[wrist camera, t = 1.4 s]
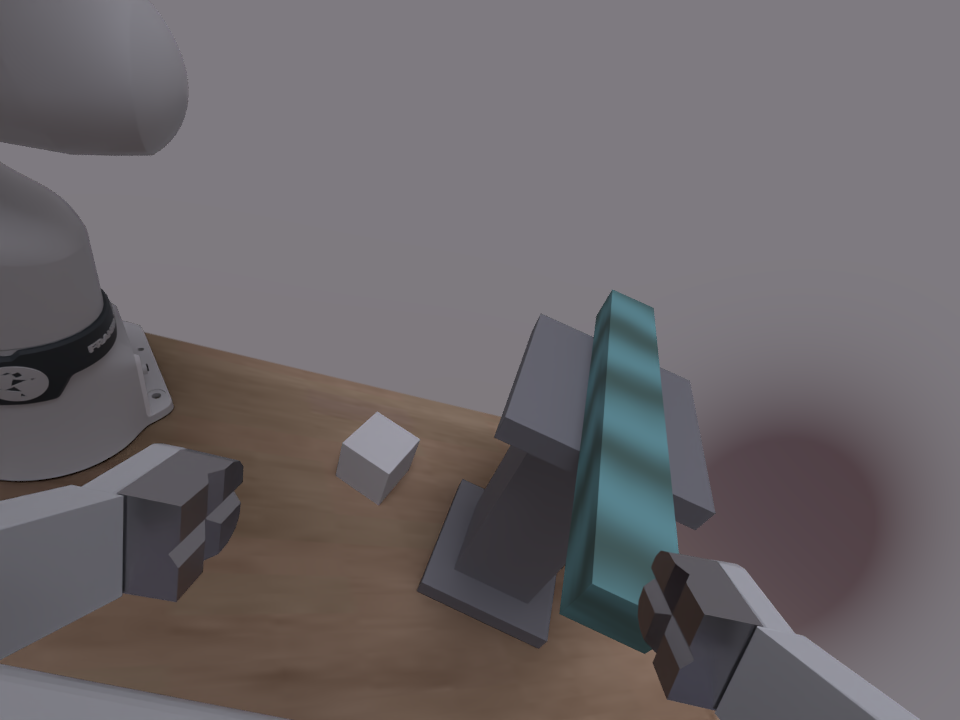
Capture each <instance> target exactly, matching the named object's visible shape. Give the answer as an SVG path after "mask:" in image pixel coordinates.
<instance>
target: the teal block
mask: <svg viewBox="0 0 960 720" xmlns="http://www.w3.org/2000/svg"><path fill="white" fill-rule="evenodd" d="M660 551H666V552H672V553H677V554H679V551H678V542H677V531H676V522H675V512H674V502H673V493H672V483H671V473H670V464H669V454H668V444H667V434H666V425H665V415H664V405H663V396H662V386H661V376H660V367H659V357H658V347H657V337H656V328H655V318H654V309H653V308H652V307H650V306H648V305H646V304H643V303H641V302H639V301H637V300H635V299H632V298H630V297H628V296H626V295H623V294H621V293H619V292H617V291H614V290H612V291H611V293H610V295H609V296H608V298H607V299H606V301H605V303H604V304H603V306H602V308H601V309H600V311H599V313H598V314H597V316H596V324H595V332H594V340H593V348H592V356H591V364H590V372H589V380H588V388H587V396H586V404H585V412H584V420H583V428H582V437H581V445H580V453H579V461H578V469H577V477H576V485H575V493H574V501H573V509H572V517H571V525H570V533H569V541H568V549H567V557H566V565H565V573H564V581H563V589H562V597H561V605H560V614H561V615H563V616H565V617H567V618H569V619H571V620H574V621H576V622H578V623H580V624H582V625H584V626H586V627H589V628H591V629H593V630H595V631H597V632H599V633H601V634H603V635H606V636H608V637H610V638H612V639H614V640H616V641H618V642H620V643H623V644H625V645H627V646H629V647H631V648H633V649H635V650H637V651H640V652H642V653H644V654H645V653H647V652H648V651H650V650H652V648H651V647H650V646H649V645H648V644H647V643H646V642H645V641H644V639H643V636H642V633H641V631H640V627H639V621H638V601H639V598H640V595H641V592H642V589H643V586H645V585H646V584H647V583H649V582H650V581H652V580H653V579H655V577H654V575H653V572H652V569H651V566H652V563H653V561H654V558H655V556H656V555H657V554H658V553H659V552H660Z"/></svg>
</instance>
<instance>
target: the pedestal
mask: <svg viewBox="0 0 960 720" xmlns="http://www.w3.org/2000/svg"><path fill="white" fill-rule="evenodd" d="M593 340H594V337H592V336H589V335H587V334H585V333H583V332H581V331H578V330H576V329H574V328H572V327H570V326H567V325H565V324H563V323H561V322H559V321H556V320H554V319H552V318H550V317H548V316H545V315H543V314H540V316H539V319H538V320H537V322H536V324H535V326H534V329H533V331H532V333H531V336H530V338H529V341H528V344H527V347H526V350H525V353H524V355H523V358H522V361H521V364H520V367H519V369H518V372H517V375H516V378H515V381H514V383H513V386H512V389H511V392H510V394H509V398H508V400H507V403H506V406H505V409H504V411H503V414H502V417H501V420H500V423H499V425H498V428H497V431H496V434H495V437H494V438H496V439H499V440H501V441H503V442H505V443H507V444H510V445H511V446H510V448H509V449H508V451H507V453H506V454H505V456H504V458H503V460H502V461H501V463H500V465H499V466H498V468H497V470H496V472H495V473H494V475H493V477H492V478H491V480H490V482H489V484H488V485H487V487H486V489H483V488H481V487H479V486H477V485H474V484H472V483H470V482H468V481H466V480H464V479H462V481H461V483H460V485H459V487H458V489H457V492H456V494H455V497H454V499H453V502H452V504H451V507H450V509H449V512H448V514H447V517H446V519H445V522H444V524H443V527H442V529H441V532H440V534H439V537H438V539H437V542H436V544H435V547H434V549H433V552H432V554H431V557H430V559H429V562H428V564H427V567H426V569H425V572H424V574H423V577H422V579H421V582H420V584H419V587H418V589H417V591H418V592H420V593H422V594H424V595H426V596H428V597H430V598H432V599H434V600H437V601H439V602H441V603H443V604H445V605H447V606H449V607H451V608H454V609H456V610H458V611H460V612H462V613H464V614H466V615H468V616H470V617H473V618H475V619H477V620H479V621H481V622H483V623H485V624H487V625H490V626H492V627H494V628H496V629H498V630H500V631H502V632H504V633H506V634H509V635H511V636H513V637H515V638H517V639H519V640H521V641H523V642H526V643H528V644H530V645H532V646H534V647H536V648H538V649H539V648H540V647H541V646H542V645H543V644H545V643H546V642H547V638H548V631H549V624H550V616H551V609H552V602H553V595H554V588H555V581H556V574H557V572H558V571H559V570H560V569H561V568H562V567H563V566H564V565H565V564H566V557H567V549H568V541H569V533H570V525H571V517H572V509H573V501H574V493H575V485H576V477H577V469H578V461H579V453H580V445H581V437H582V428H583V420H584V412H585V404H586V396H587V388H588V380H589V372H590V364H591V356H592V348H593ZM660 376H661V386H662V396H663V405H664V415H665V425H666V434H667V444H668V454H669V464H670V473H671V483H672V493H673V502H674V512H675V521H677V522H679V523H681V524H683V525H685V526H688V527H690V528H692V529H694V530H696V529H697V528H698V527H700V526H701V525H702V524H703V523H705V522H706V521H707V520H708V519H709V518H711V517H712V516H713V515H714V514H715V509H714V504H713V498H712V493H711V488H710V483H709V478H708V473H707V467H706V463H705V457H704V452H703V447H702V442H701V437H700V431H699V426H698V421H697V416H696V410H695V405H694V400H693V395H692V390H691V385H690V381H689V380H687V379H685V378H682V377H680V376H677V375H676V374H674V373H671V372H669V371H667V370H665V369H662V368H660Z"/></svg>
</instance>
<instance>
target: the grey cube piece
mask: <svg viewBox="0 0 960 720" xmlns="http://www.w3.org/2000/svg"><path fill="white" fill-rule="evenodd" d="M419 442H420V439H419V438H417V437H416V436H414V435H413V434H411V433H410V432H408V431H406V430H405V429H403V428H402V427H400V426H399V425H397V424H396V423H394V422H393V421H391V420H389V419H388V418H386V417H385V416H383V415H382V414H380V413H379V412H376V413H375V414H374V415H373V416H372V417H371V418H370V419H369V420H367V421H366V422H365V423H364V424H363V425H362V426H361V427H360V428H359V429H357V430H356V431H355V432H354V433H353V434H352V435H351V436H350V437H349V438H347V439H346V440H345V441H344V442H343V443H342V448H341V452H340V457H339V462H338V466H337V471H336V476H337V477H338V478H340V479H341V480H342V481H344V482H345V483H347V484H348V485H350V486H351V487H353V488H354V489H355V490H357V491H358V492H360V493H361V494H363V495H364V496H366V497H367V498H368V499H370V500H371V501H373V502H374V503H376V504H377V505H380V503H381V502H382V501H383V500H384V499H385V498H386V496H387V495H388V494H389V493H390V492H391V490H392V489H393V488H394V487H395V486H396V485H397V483H398V482H399V481H400V480H401V479H402V477H403V476H404V475H405V474H406V473H407V472H408V470H409V468H410V465H411V463H412V460H413V457H414V455H415V452H416V449H417V447H418V444H419Z"/></svg>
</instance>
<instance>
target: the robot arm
mask: <svg viewBox="0 0 960 720" xmlns="http://www.w3.org/2000/svg"><path fill="white" fill-rule="evenodd" d="M187 104H188V79H187V74H186V68H185V65H184V61H183V58H182V55H181V53H180V50H179V47H178V45H177V42H176V40H175V38H174V37H173V35H172V33H171V31H170V29H169V28H168V26H167V24H166V23H165V21H164V19H163V18H162V17H161V15H160V14H159V12H158V11H157V10H156V8H155V7H154V6H153V4H152V3H151V2H150V1H149V0H0V142H4V143H9V144H15V145H21V146H26V147H32V148H38V149H44V150H49V151H55V152H60V153H66V154H73V155H109V156H110V155H111V156H112V155H113V156H120V155H121V156H122V155H123V156H133V155H137V156H138V155H140V156H143V155H144V156H145V155H146V156H148V155H154V154H155V153H157V152H158V151H160V150H161V149H163V148H164V147H165V146H166V145H167V144H168V143H169V142H170V141H171V140H172V139H173V138H174V136H175V135H176V134H177V132H178V130H179V129H180V127H181V125H182V122H183V120H184V117H185V114H186V110H187ZM157 397H159V398H157ZM154 398H157V399H154ZM173 408H174V405H173V402H172V399H171V396H170V394H169V391H168V389H167V387H166V384H165V382H164V379H163V377H162V374H161V372H160V370H159V367H158V365H157V362H156V360H155V357H154V355H153V353H152V350H151V348H150V345H149V343H148V340H147V338H146V336H145V333H144V331H143V329H142V327H141V326H140V325H138V324H134V323H131V322H127V321H122V319H121V317H120V314H119V311H118V309H117V306H116V305H114V304H113V303H111V302H110V301H109V299H108V297H107V295H106V294H105V292H104V291H103V290H102V289H101V288H100V284H99V280H98V275H97V271H96V266H95V262H94V258H93V253H92V249H91V245H90V240H89V236H88V232H87V229H86V227H85V225H84V224H83V222H82V220H81V219H80V218H79V216H78V215H77V214H76V212H75V211H74V210H73V209H72V208H71V206H70V205H69V204H68V203H67V202H66V201H65V200H63V199H62V198H61V197H60V196H59V195H57V194H56V193H55V192H53V191H52V190H50V189H49V188H47V187H45V186H43V185H42V184H40V183H38V182H36V181H34V180H32V179H30V178H28V177H27V176H24V175H23V174H21V173H19V172H17V171H15V170H13V169H11V168H10V167H8V166H6V165H5V164H3V163H1V162H0V480H9V481H31V480H42V479H49V478H54V477H59V476H64V475H68V474H71V473H75V472H78V471H81V470H84V469H86V468H89V467H91V466H94V465H96V464H98V463H100V462H102V461H104V460H106V459H108V458H110V457H111V456H113V455H115V454H116V453H118V452H119V451H121V450H122V449H123V448H125V447H126V446H127V445H128V444H129V443H131V442H132V441H133V440H134V439H135V438H136V436H137V435H138V434H139V433H140V432H141V431H142V430H143V429H144V428H145V427H147V426H148V425H149V424H151V423H153V422H155V421H157V420H159V419H161V418H162V417H164V416H166V415H167V414H169V413H170V412H171V411H172V410H173ZM242 482H243V465H242V464H241V462H240V461H238V460H234V459H229V458H225V457H221V456H216V455H212V454H208V453H204V452H199V451H195V450H191V449H185V448H183V447H178V446H173V445H168V444H163V443H158V444H152V445H150V446H149V447H147V448H145V449H144V450H142V451H140V452H139V453H137V454H135V455H134V456H132V457H130V458H129V459H127V460H125V461H124V462H122V463H120V464H119V465H117V466H115V467H114V468H112V469H110V470H109V471H107V472H105V473H104V474H102V475H100V476H98V477H97V478H95V479H93V480H92V481H90V482H88V483H87V484H85V485H83V486H82V487H79V486H74V485H69V486H65V487H60V488H56V489H51V490H47V491H43V492H38V493H34V494H29V495H25V496H20V497H16V498H12V499H7V500H3V501H0V660H1V659H3V658H5V657H7V656H9V655H10V654H12V653H14V652H16V651H18V650H20V649H22V648H24V647H26V646H28V645H30V644H31V643H33V642H35V641H37V640H39V639H41V638H43V637H45V636H47V635H49V634H51V633H52V632H54V631H56V630H58V629H60V628H62V627H64V626H66V625H68V624H70V623H72V622H73V621H75V620H77V619H79V618H81V617H83V616H85V615H87V614H89V613H91V612H93V611H94V610H96V609H98V608H100V607H102V606H104V605H106V604H108V603H110V602H112V601H114V600H116V599H117V598H119V597H121V596H122V593H125V594H131V595H137V596H143V597H149V598H155V599H161V600H167V601H173V602H177V601H178V600H179V599H180V597H181V596H182V595H183V594H184V593H185V592H186V591H187V589H188V588H189V587H190V586H191V585H192V584H193V583H194V581H195V580H196V579H197V578H198V577H199V576H200V575H201V573H202V572H203V561H204V560H206V559H208V558H210V557H213V556H215V555H217V554H219V553H220V551H221V550H222V549H223V548H224V547H225V545H226V544H227V543H228V541H229V539H230V537H231V536H232V534H233V532H234V530H235V528H236V525H237V521H238V518H239V514H240V504H241V503H240V501H239V499H238V497H237V496H236V494H235V492H234V490H235V489H236V488H237V487H238V486H239V485H240V484H241V483H242ZM651 569H652V572H653V575H654V577H655V579H653V580H652V581H650V582H649V583H647V584H646V585H645V586H643V589H642V592H641V595H640V598H639V601H638V621H639V627H640V631H641V633H642V636H643V639H644V641H645V642H646V643H647V644H648V645H649V646H650V647H651V648H652V649H653V650H654V651H655V652H656V656H655V658H654V661H653V665H654V668H655V670H656V673H657V675H658V678H659V681H660V683H661V686H662V688H663V691H664V693H665V696H666V699H667V700H672V701H676V702H680V703H685V704H689V705H693V706H698V707H702V708H706V709H711V710H715V711H716V712H715V714H716V715H717V716H718V717H719V719H720V720H920V719H919V718H917V717H916V716H915V715H913V714H912V713H910V712H909V711H908V710H906V709H905V708H903V707H902V706H901V705H899V704H898V703H896V702H895V701H894V700H892V699H891V698H890V697H888V696H887V695H885V694H884V693H883V692H881V691H880V690H878V689H877V688H876V687H874V686H873V685H871V684H870V683H869V682H867V681H866V680H865V679H863V678H862V677H860V676H859V675H857V674H856V673H855V672H853V671H852V670H851V669H849V668H848V667H846V666H845V665H844V664H842V663H841V662H839V661H838V660H837V659H835V658H834V657H833V656H831V655H830V654H828V653H827V652H825V651H824V650H823V649H821V648H820V647H818V646H817V645H816V644H814V643H813V642H812V641H810V640H809V639H808V638H806V637H805V636H802V635H798V634H795V633H794V632H793V631H792V629H791V628H790V627H789V625H788V624H787V623H786V621H785V620H784V619H783V618H782V616H781V615H780V614H779V613H778V611H777V610H776V609H775V607H774V606H773V605H772V604H771V602H770V601H769V600H768V598H767V597H766V596H765V594H764V593H763V592H762V591H761V590H760V588H759V587H758V585H757V584H756V583H755V582H754V581H753V579H752V578H751V577H750V575H749V574H748V573H747V571H746V570H745V569H744V568H742V567H740V566H739V565H737V564H734V563H728V562H722V561H716V560H709V559H703V558H698V557H692V556H687V555H682V554H677V553H672V552H666V551H660V552H659V553H658V554H657V555H656V556H655V558H654V561H653V563H652V566H651ZM0 720H292V719H287V718H281V717H276V716H271V715H266V714H261V713H255V712H250V711H245V710H240V709H234V708H229V707H224V706H219V705H213V704H208V703H203V702H198V701H192V700H187V699H182V698H177V697H171V696H166V695H161V694H156V693H150V692H145V691H140V690H135V689H129V688H124V687H119V686H114V685H108V684H103V683H98V682H93V681H87V680H82V679H77V678H72V677H66V676H61V675H56V674H51V673H46V672H40V671H35V670H30V669H25V668H19V667H14V666H9V665H4V664H0Z"/></svg>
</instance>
